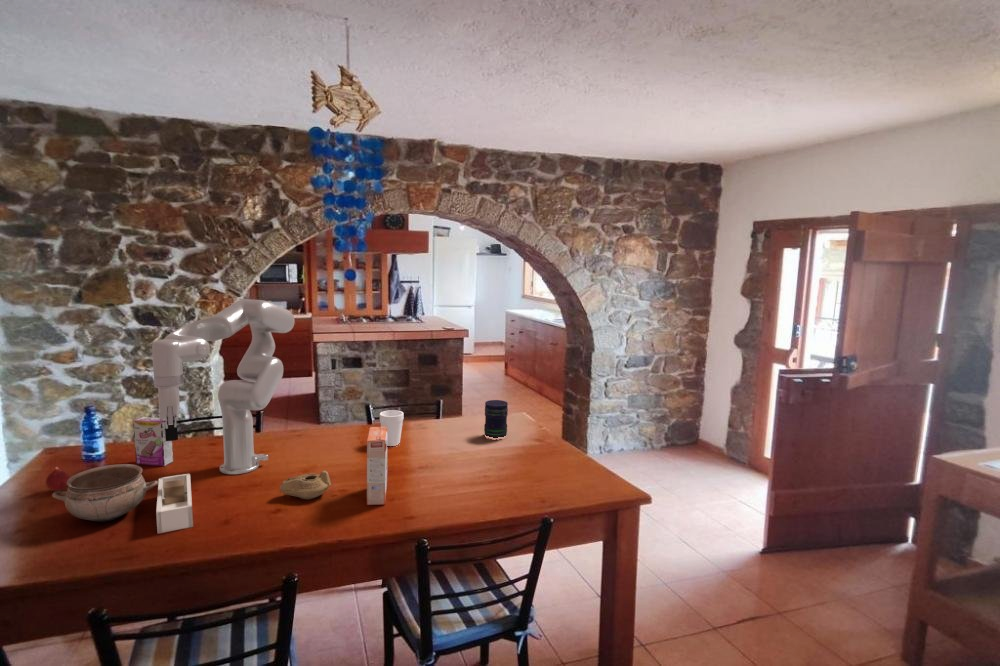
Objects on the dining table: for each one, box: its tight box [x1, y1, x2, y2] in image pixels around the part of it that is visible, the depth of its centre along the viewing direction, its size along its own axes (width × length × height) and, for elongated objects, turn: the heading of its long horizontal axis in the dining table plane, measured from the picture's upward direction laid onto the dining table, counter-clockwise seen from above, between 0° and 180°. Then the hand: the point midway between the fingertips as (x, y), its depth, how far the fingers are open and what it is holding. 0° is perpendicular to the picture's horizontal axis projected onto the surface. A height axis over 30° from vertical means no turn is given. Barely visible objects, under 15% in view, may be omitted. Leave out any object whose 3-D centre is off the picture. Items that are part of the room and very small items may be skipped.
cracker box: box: [366, 426, 388, 506], centre depth 173 cm, size 14×6×21 cm, turn 9°
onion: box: [45, 466, 71, 492], centre depth 171 cm, size 6×6×8 cm
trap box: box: [155, 473, 194, 534], centre depth 160 cm, size 8×26×6 cm, turn 30°
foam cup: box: [379, 409, 405, 447], centre depth 221 cm, size 10×9×13 cm
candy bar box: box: [132, 416, 174, 467], centre depth 195 cm, size 11×5×16 cm, turn 84°
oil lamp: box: [279, 470, 332, 500], centre depth 172 cm, size 11×15×8 cm
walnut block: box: [164, 479, 185, 505], centre depth 161 cm, size 5×5×5 cm
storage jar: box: [484, 399, 509, 438], centre depth 234 cm, size 10×10×15 cm
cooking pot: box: [51, 463, 159, 523], centre depth 155 cm, size 25×19×12 cm
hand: (172, 439), depth 166 cm, fingers closed
